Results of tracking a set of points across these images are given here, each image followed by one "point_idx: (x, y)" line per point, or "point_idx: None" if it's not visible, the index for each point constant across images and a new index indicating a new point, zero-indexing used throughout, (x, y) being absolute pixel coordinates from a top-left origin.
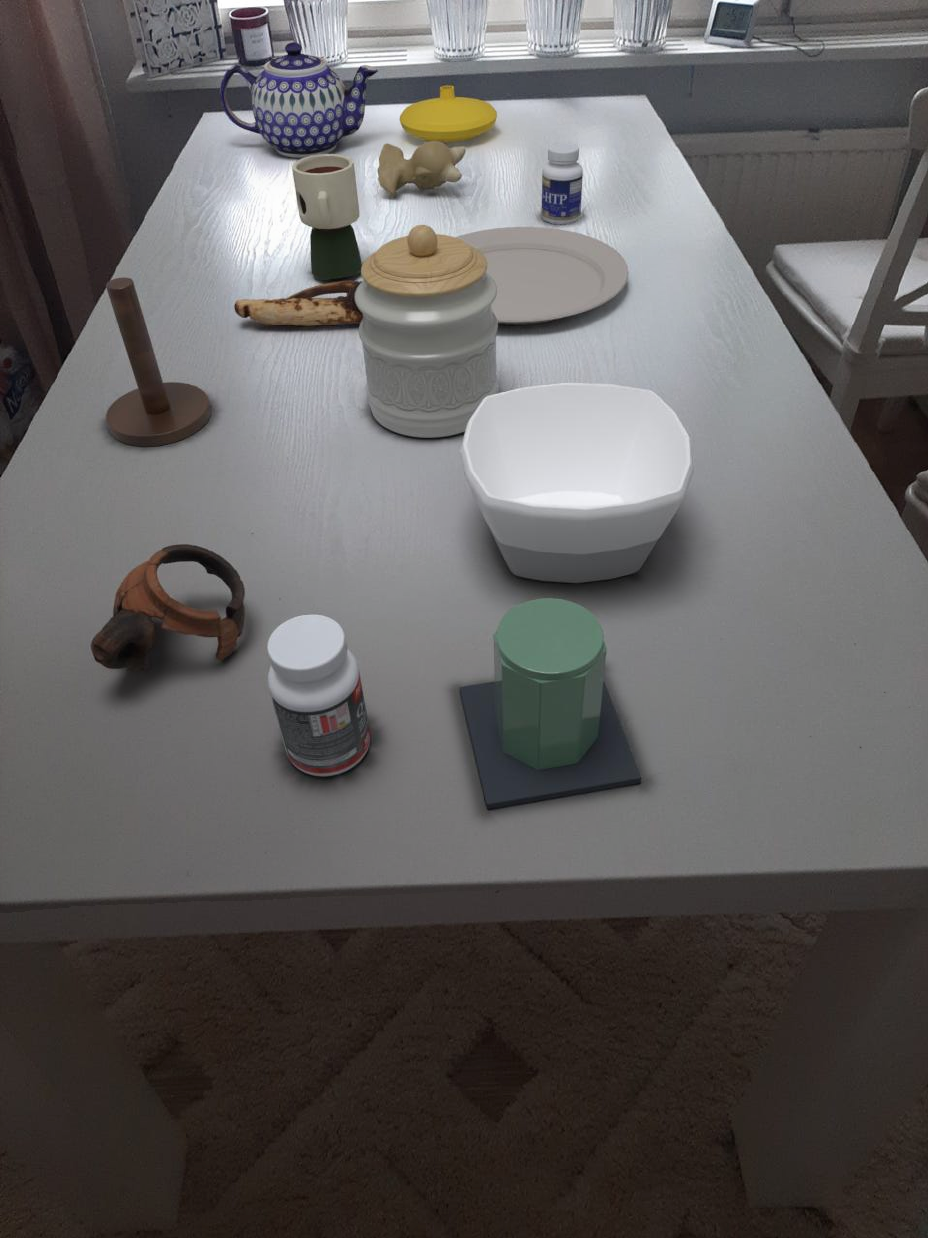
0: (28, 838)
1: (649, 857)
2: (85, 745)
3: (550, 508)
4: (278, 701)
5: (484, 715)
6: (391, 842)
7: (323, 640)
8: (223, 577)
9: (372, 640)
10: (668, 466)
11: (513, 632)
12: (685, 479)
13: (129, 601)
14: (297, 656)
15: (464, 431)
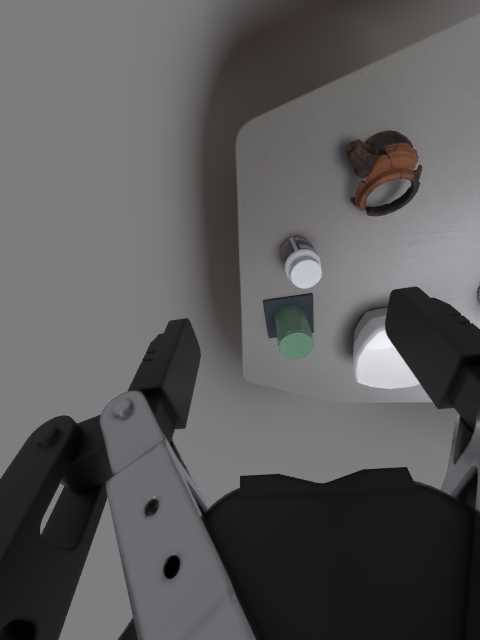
0: (262, 124)
1: (245, 335)
2: (313, 136)
3: (363, 349)
4: (290, 255)
5: (298, 301)
6: (253, 274)
7: (305, 281)
8: (395, 202)
9: (347, 262)
10: (384, 374)
11: (298, 337)
12: (364, 384)
13: (382, 161)
14: (297, 272)
15: (478, 296)
